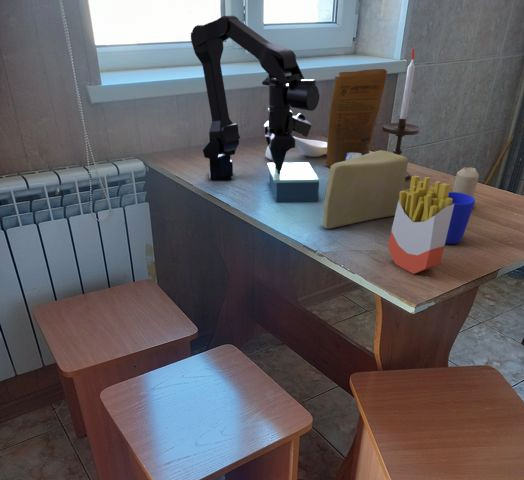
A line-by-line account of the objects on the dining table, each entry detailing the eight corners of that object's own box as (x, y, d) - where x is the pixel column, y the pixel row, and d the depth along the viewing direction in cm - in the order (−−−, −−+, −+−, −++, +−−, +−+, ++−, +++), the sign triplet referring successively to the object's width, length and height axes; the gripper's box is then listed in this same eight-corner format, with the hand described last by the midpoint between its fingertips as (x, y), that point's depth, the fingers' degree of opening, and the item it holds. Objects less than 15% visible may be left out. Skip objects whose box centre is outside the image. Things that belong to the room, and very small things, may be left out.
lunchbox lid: (274, 182, 136) (274, 164, 133) (267, 165, 149) (267, 148, 146) (319, 182, 137) (320, 164, 134) (308, 164, 150) (309, 148, 148)
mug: (407, 233, 123) (415, 192, 117) (456, 232, 124) (466, 191, 118) (418, 247, 116) (427, 204, 110) (470, 246, 117) (481, 203, 111)
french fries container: (421, 279, 103) (441, 191, 93) (385, 259, 111) (399, 175, 100) (437, 274, 105) (458, 187, 95) (400, 254, 113) (416, 172, 102)
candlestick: (389, 183, 154) (411, 49, 134) (369, 173, 162) (386, 45, 142) (418, 179, 158) (443, 48, 137) (397, 169, 166) (418, 44, 145)
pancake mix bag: (379, 165, 169) (393, 69, 153) (327, 170, 164) (335, 71, 148) (369, 160, 175) (382, 66, 158) (318, 164, 169) (326, 68, 153)
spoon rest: (320, 149, 185) (322, 128, 181) (337, 157, 177) (339, 135, 172) (261, 155, 177) (261, 133, 173) (275, 164, 168) (276, 141, 164)
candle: (460, 210, 136) (469, 172, 130) (445, 204, 140) (453, 166, 134) (475, 207, 138) (485, 169, 132) (460, 201, 142) (469, 164, 136)
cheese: (337, 235, 121) (344, 171, 112) (310, 222, 127) (315, 160, 119) (400, 216, 132) (410, 156, 123) (372, 205, 138) (380, 147, 130)
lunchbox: (276, 202, 139) (276, 183, 136) (269, 183, 152) (269, 165, 149) (317, 201, 140) (319, 182, 137) (307, 182, 153) (308, 164, 150)
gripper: (317, 112, 126) (312, 176, 135) (304, 99, 141) (300, 157, 150) (272, 113, 125) (270, 177, 134) (264, 99, 140) (263, 158, 149)
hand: (277, 167), depth 142 cm, fingers closed on lunchbox lid, 6 cm apart
